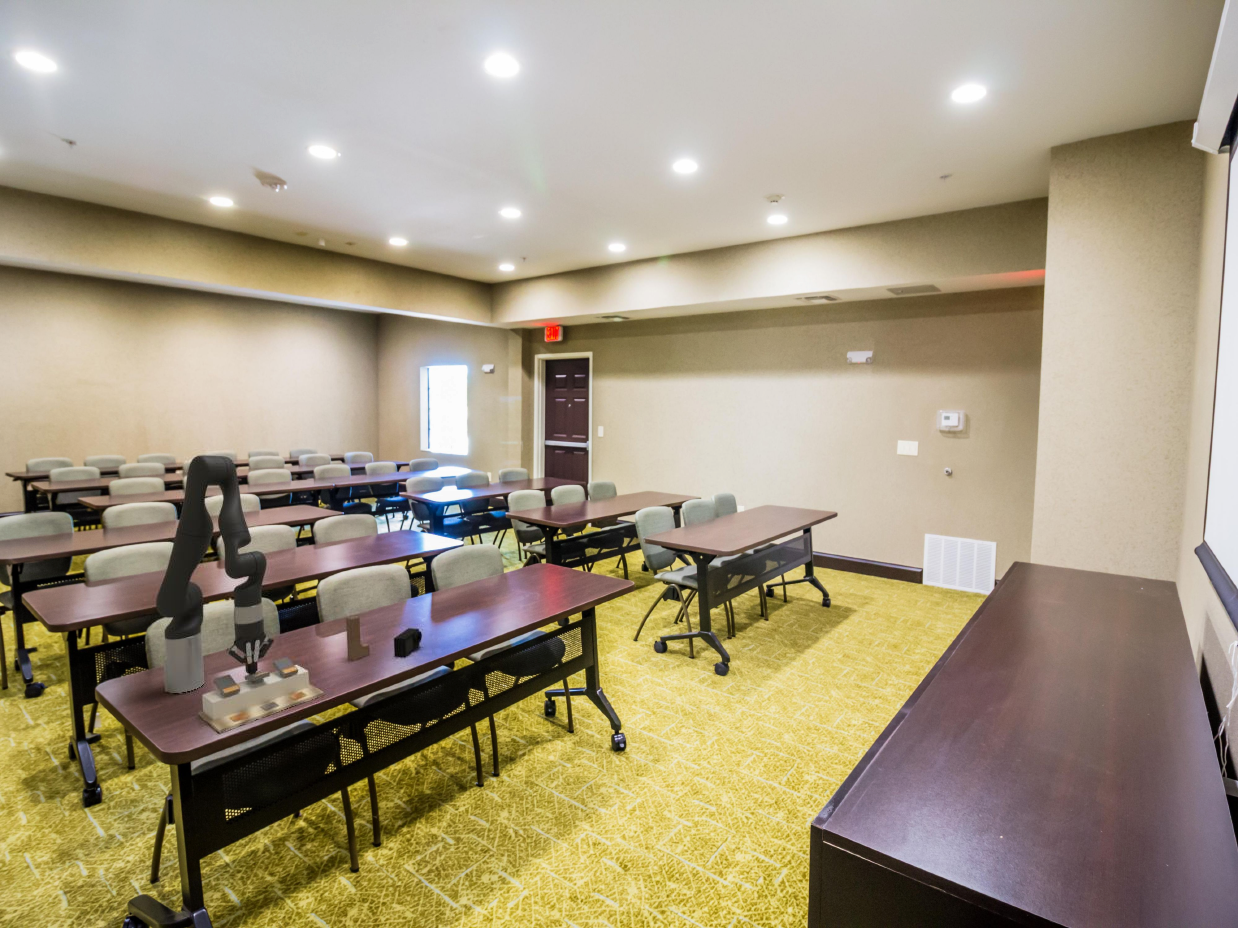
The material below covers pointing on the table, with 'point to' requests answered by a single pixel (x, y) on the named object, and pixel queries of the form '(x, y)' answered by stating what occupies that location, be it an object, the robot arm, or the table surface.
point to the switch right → (285, 667)
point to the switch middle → (257, 676)
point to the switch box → (254, 693)
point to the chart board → (262, 709)
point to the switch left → (226, 685)
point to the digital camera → (407, 642)
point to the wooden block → (355, 639)
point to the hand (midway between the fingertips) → (252, 673)
